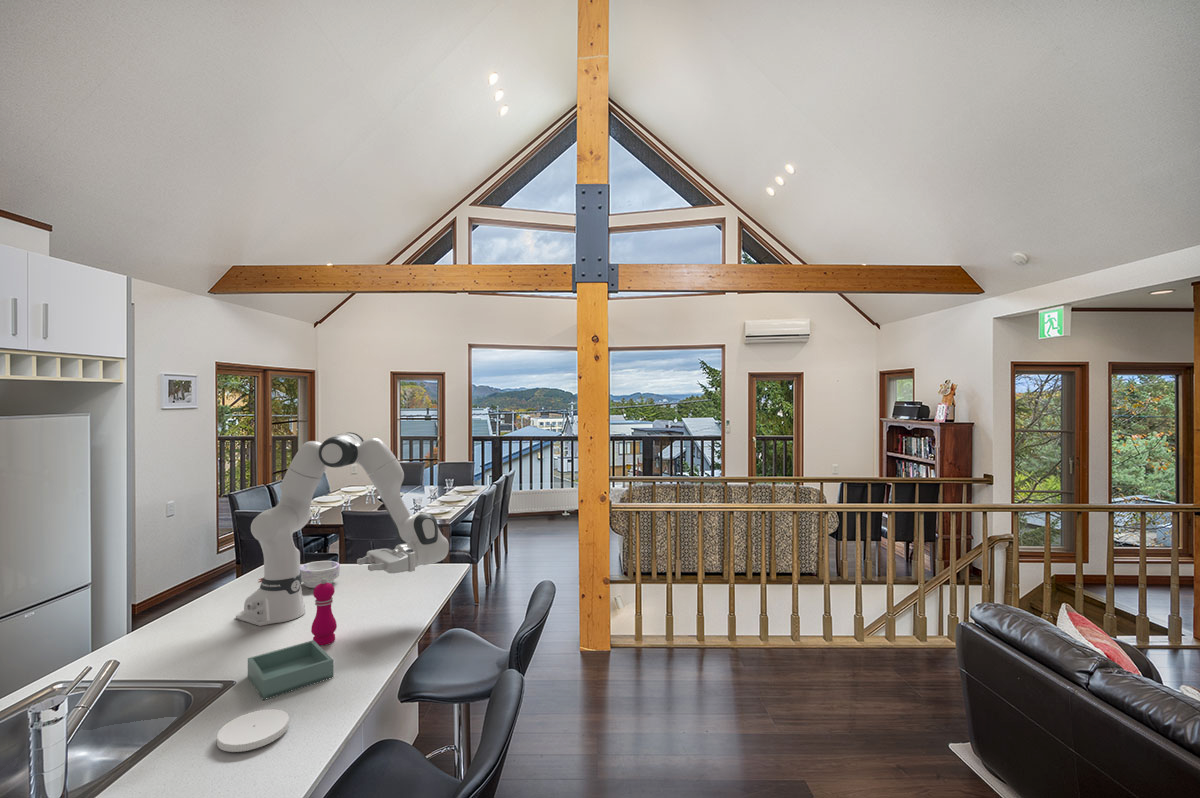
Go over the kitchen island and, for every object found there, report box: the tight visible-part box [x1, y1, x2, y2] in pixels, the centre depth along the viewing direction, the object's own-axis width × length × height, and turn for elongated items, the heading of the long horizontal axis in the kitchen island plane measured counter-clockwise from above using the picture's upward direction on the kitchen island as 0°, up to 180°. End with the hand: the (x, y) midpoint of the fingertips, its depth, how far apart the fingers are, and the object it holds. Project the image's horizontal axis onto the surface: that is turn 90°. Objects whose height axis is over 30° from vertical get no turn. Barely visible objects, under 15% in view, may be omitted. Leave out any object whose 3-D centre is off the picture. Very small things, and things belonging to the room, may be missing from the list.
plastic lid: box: [216, 708, 290, 753], centre depth 129 cm, size 14×14×2 cm
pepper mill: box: [310, 578, 338, 646], centre depth 178 cm, size 7×7×20 cm
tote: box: [247, 639, 334, 700], centre depth 156 cm, size 17×17×5 cm
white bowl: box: [300, 560, 341, 589], centre depth 233 cm, size 15×15×8 cm
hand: (363, 565), depth 187 cm, fingers open, 8 cm apart
